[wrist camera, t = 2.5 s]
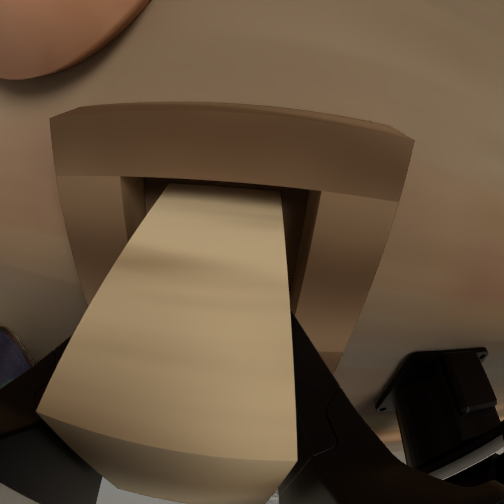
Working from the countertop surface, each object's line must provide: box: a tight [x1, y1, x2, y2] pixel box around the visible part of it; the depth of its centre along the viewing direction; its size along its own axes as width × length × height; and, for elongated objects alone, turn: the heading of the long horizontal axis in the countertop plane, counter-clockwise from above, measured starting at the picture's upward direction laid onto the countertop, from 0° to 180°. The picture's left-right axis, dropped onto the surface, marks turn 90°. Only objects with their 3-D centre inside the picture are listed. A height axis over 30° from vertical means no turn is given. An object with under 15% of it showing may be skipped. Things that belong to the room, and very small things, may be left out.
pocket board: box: [50, 102, 414, 375], centre depth 12 cm, size 11×11×2 cm
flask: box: [0, 325, 35, 388], centre depth 15 cm, size 9×3×11 cm, turn 1°
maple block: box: [36, 183, 297, 504], centre depth 9 cm, size 5×4×9 cm
